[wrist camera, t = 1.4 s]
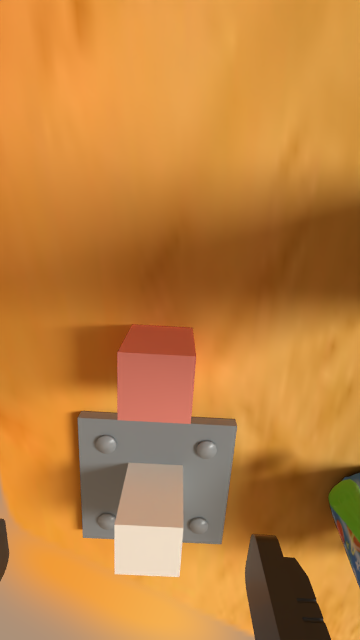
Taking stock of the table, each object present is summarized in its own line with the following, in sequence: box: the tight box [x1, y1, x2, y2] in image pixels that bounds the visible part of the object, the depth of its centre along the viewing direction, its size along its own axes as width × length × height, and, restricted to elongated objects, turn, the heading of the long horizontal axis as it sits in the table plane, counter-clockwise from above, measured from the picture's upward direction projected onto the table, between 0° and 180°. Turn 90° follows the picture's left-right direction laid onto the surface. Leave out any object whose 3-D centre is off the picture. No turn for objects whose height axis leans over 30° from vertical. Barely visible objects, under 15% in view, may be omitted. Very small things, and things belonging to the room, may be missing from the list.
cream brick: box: [114, 463, 183, 577], centre depth 25 cm, size 5×5×6 cm
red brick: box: [117, 324, 196, 424], centre depth 22 cm, size 5×5×6 cm
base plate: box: [78, 411, 237, 544], centre depth 28 cm, size 14×14×1 cm
